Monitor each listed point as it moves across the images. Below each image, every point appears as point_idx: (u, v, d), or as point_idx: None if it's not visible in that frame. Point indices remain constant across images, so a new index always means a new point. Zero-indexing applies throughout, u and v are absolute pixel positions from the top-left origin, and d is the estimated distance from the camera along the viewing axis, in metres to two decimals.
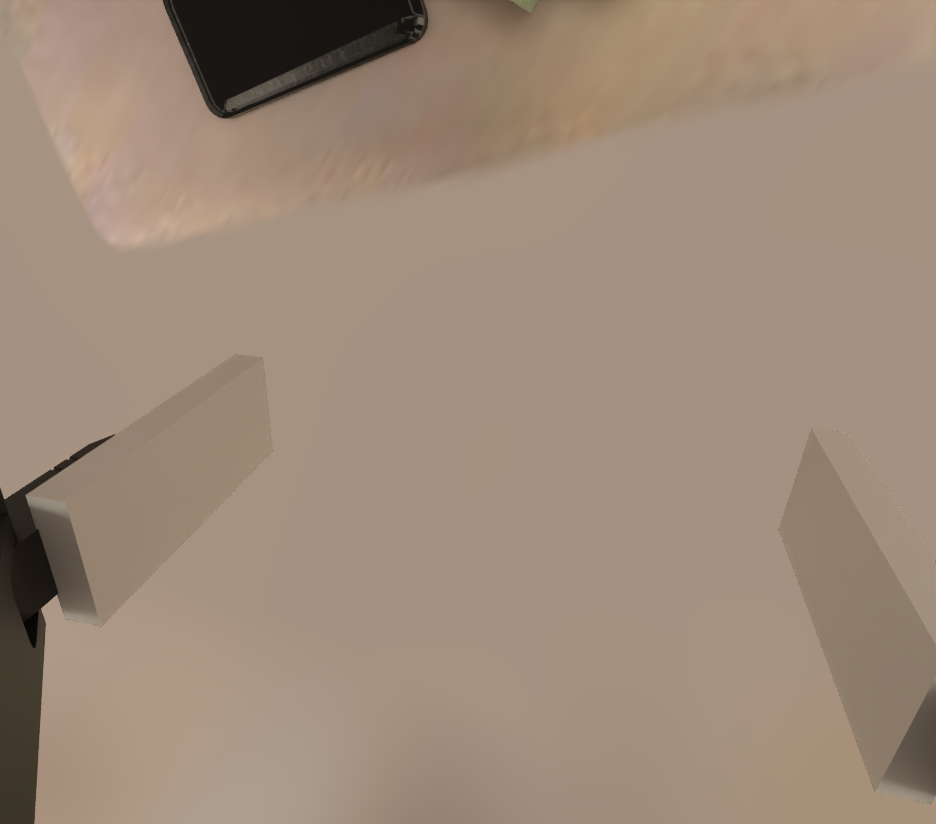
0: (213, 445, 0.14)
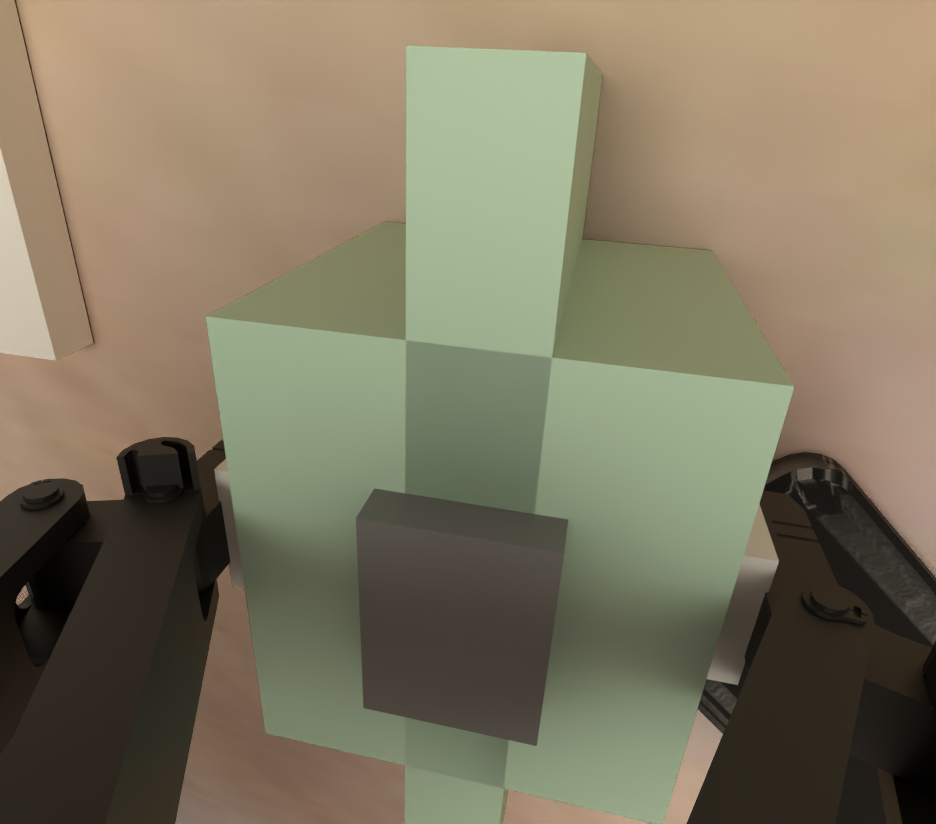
0: None
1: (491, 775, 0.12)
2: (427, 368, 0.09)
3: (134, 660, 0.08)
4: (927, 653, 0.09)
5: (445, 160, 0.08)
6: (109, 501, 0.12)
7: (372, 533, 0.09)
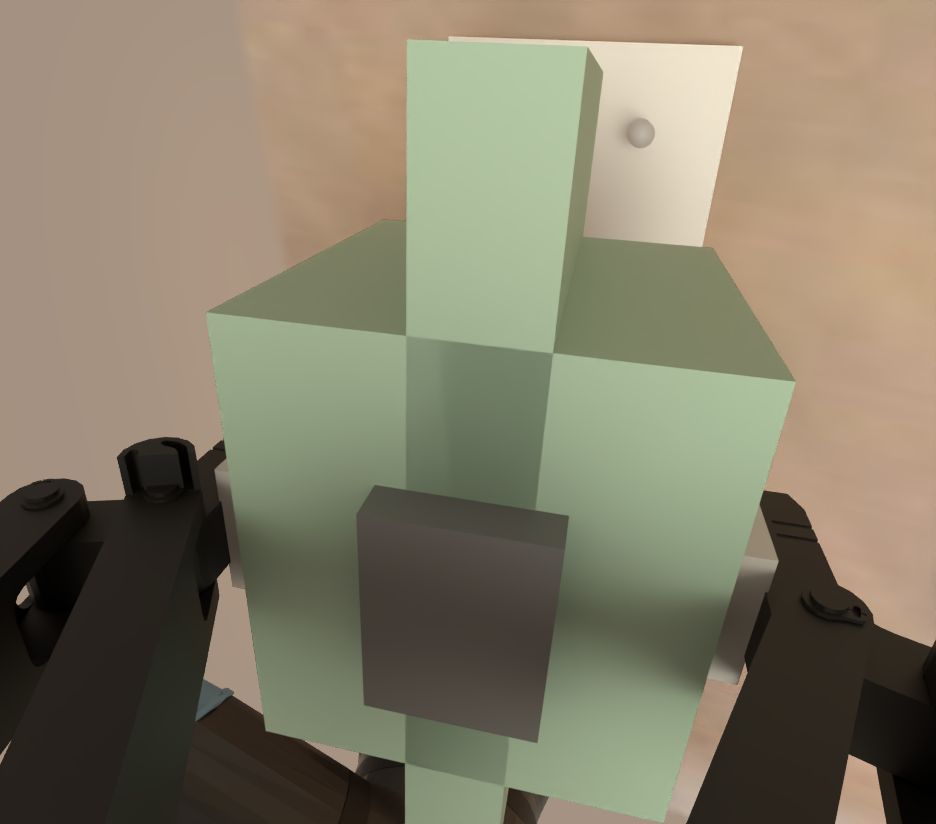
0: None
1: (492, 772, 0.12)
2: (428, 364, 0.09)
3: (136, 659, 0.08)
4: (926, 653, 0.09)
5: (446, 154, 0.08)
6: (109, 501, 0.12)
7: (372, 529, 0.09)
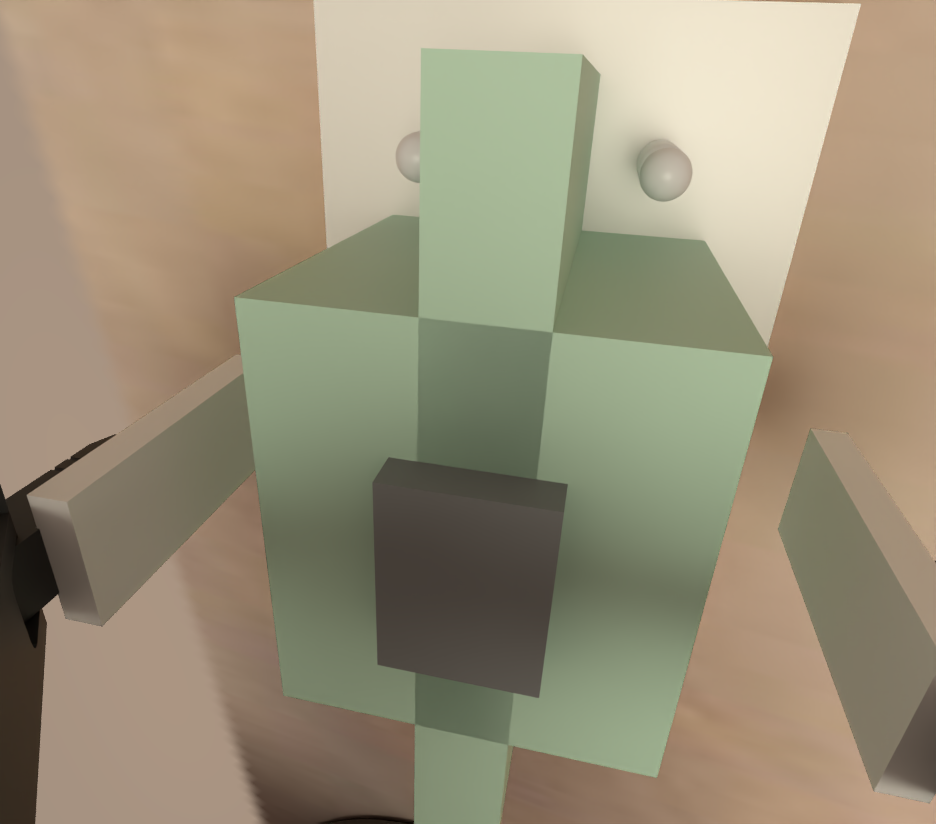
0: (214, 445, 0.14)
1: (496, 732, 0.13)
2: (438, 343, 0.10)
3: None
4: None
5: (455, 151, 0.08)
6: None
7: (387, 496, 0.10)
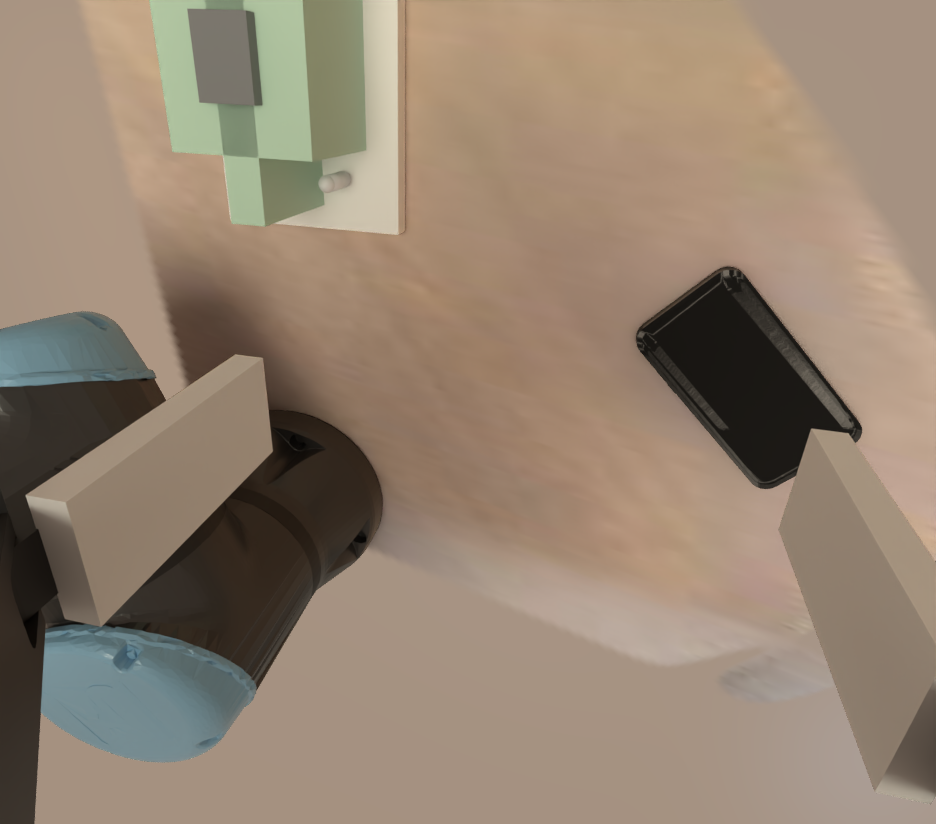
0: (213, 445, 0.14)
1: (253, 151, 0.33)
2: None
3: None
4: None
5: None
6: None
7: (192, 14, 0.30)
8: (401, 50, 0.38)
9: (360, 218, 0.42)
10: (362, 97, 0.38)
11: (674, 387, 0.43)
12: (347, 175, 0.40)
